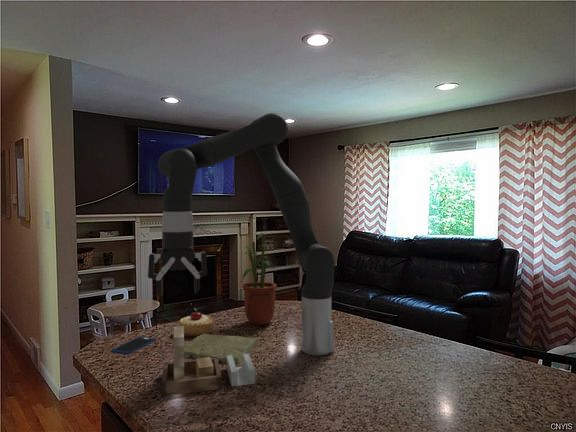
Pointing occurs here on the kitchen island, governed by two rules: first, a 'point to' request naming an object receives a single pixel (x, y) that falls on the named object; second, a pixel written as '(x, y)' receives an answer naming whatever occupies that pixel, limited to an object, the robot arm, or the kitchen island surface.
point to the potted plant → (259, 290)
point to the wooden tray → (189, 379)
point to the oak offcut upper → (204, 367)
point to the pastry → (196, 324)
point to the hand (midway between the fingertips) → (178, 293)
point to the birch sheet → (178, 352)
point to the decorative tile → (219, 347)
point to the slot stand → (241, 371)
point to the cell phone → (133, 345)
